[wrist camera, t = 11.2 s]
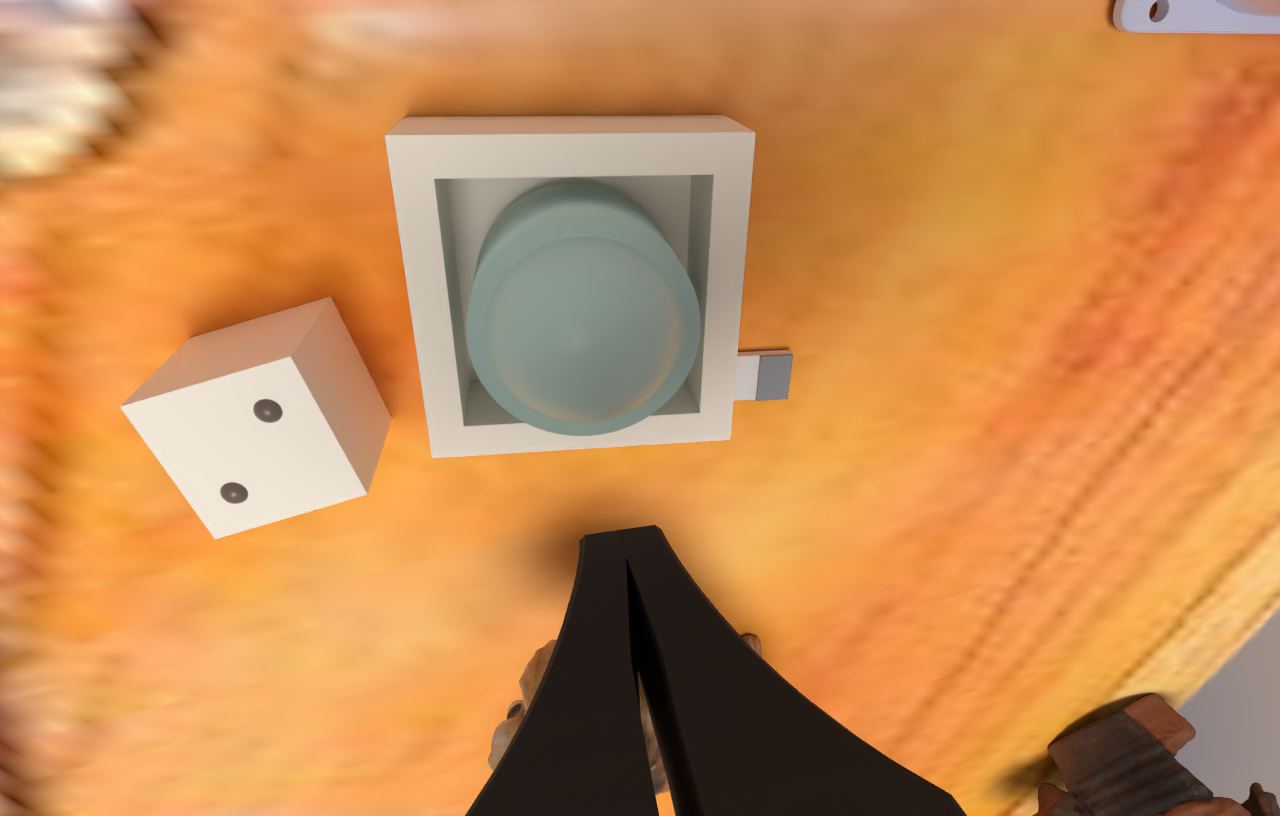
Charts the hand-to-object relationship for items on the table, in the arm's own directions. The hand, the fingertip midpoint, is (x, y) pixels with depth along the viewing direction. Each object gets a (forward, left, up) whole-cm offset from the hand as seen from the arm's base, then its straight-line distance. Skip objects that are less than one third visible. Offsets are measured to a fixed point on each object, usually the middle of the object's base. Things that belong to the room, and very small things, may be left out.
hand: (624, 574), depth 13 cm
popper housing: (0, -2, -10) cm, 10 cm away
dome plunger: (0, -2, -9) cm, 9 cm away
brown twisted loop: (-25, +24, -10) cm, 36 cm away
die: (+8, +1, -10) cm, 13 cm away
